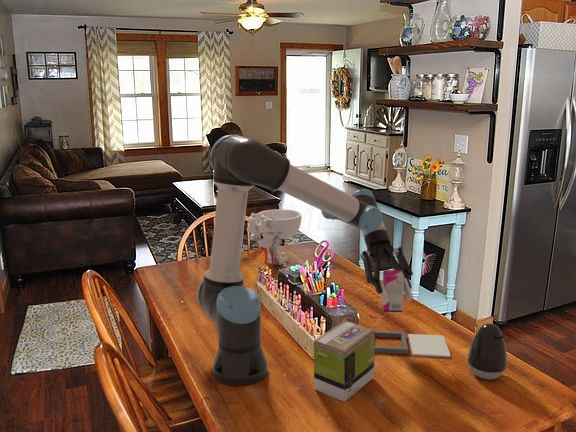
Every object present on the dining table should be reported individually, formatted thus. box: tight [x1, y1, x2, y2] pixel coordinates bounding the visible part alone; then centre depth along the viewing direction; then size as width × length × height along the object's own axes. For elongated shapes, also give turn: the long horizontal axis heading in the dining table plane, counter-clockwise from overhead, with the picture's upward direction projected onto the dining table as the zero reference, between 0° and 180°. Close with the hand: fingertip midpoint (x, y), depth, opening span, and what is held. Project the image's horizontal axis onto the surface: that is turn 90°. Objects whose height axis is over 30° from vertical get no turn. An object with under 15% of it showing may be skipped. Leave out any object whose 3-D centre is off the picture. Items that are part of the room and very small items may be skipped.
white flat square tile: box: [407, 333, 452, 359], centre depth 163 cm, size 13×11×1 cm
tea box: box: [313, 320, 376, 403], centre depth 141 cm, size 15×10×15 cm, turn 141°
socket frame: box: [374, 330, 409, 355], centre depth 164 cm, size 11×11×2 cm
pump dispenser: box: [467, 322, 508, 381], centre depth 145 cm, size 10×10×15 cm
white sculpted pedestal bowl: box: [246, 208, 303, 268], centre depth 233 cm, size 25×19×23 cm
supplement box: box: [381, 269, 404, 313], centre depth 160 cm, size 6×6×12 cm
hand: (398, 301), depth 158 cm, fingers closed on supplement box, 7 cm apart
